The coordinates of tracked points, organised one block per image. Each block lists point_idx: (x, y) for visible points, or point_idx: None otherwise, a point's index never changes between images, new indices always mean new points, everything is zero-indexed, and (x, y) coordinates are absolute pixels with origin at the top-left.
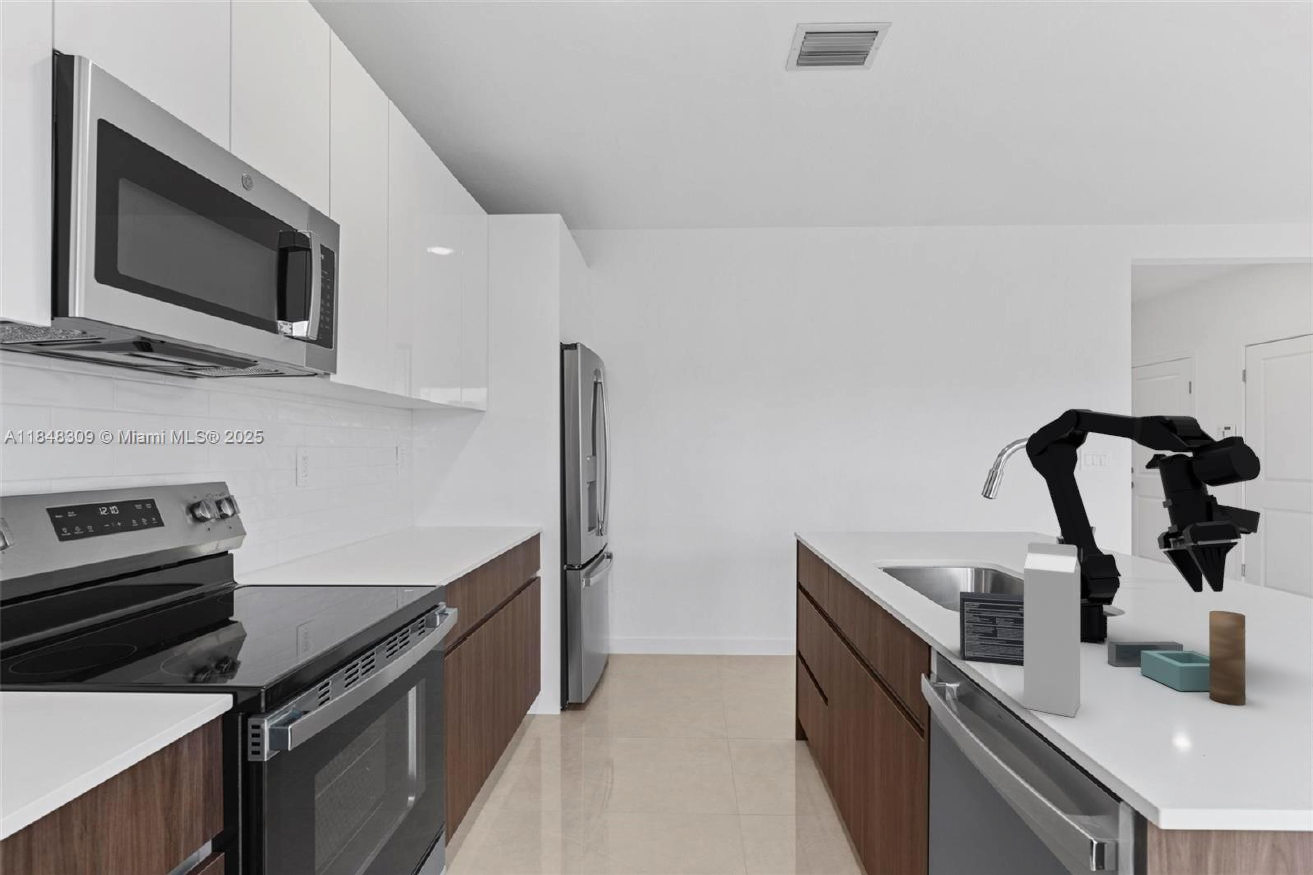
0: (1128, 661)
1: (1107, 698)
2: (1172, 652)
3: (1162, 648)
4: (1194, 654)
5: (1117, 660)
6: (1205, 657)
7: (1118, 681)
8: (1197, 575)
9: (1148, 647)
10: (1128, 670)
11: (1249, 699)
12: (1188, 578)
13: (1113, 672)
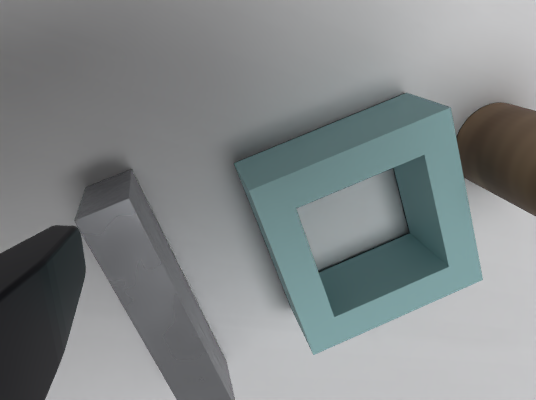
0: (212, 340)
1: (512, 389)
2: (305, 266)
3: (167, 267)
4: (313, 200)
5: (227, 370)
6: (349, 173)
7: (376, 363)
8: (8, 340)
9: (189, 314)
10: (253, 333)
11: (470, 77)
12: (39, 388)
13: (290, 368)
